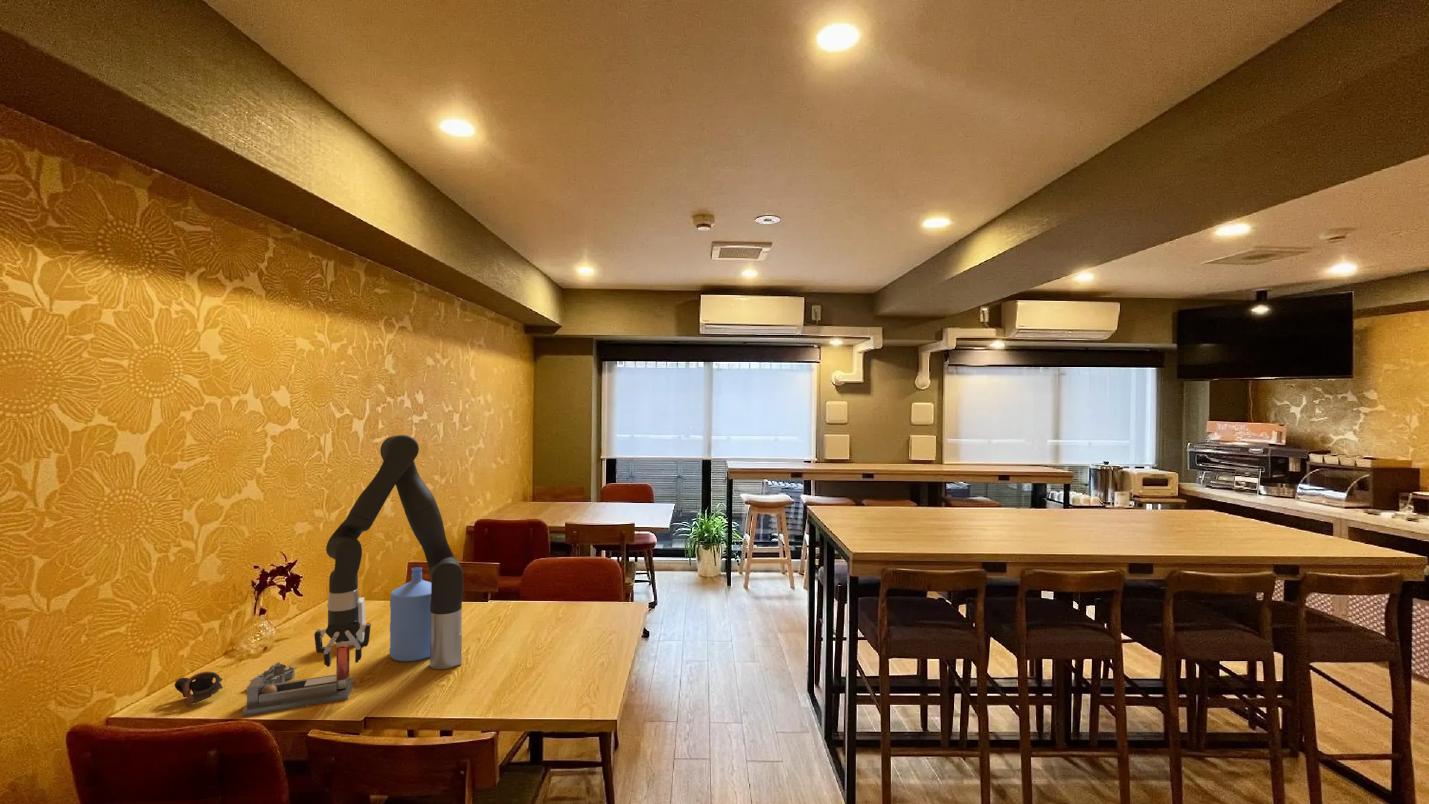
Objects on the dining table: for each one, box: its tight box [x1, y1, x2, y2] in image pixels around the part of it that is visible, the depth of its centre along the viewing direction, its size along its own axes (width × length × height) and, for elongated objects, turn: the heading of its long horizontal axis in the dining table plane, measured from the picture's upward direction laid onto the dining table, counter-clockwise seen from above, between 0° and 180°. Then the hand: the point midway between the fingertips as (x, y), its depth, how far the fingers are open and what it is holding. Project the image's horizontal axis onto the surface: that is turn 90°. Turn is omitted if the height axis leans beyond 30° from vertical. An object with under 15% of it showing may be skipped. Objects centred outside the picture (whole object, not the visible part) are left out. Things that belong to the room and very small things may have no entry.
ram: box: [304, 644, 351, 689], centre depth 172 cm, size 11×4×11 cm, turn 114°
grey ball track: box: [242, 674, 355, 717], centre depth 169 cm, size 24×11×6 cm, turn 114°
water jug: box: [389, 566, 431, 663], centre depth 201 cm, size 16×16×28 cm
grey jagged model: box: [249, 661, 297, 687], centre depth 179 cm, size 11×8×4 cm
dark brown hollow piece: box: [174, 671, 223, 708], centre depth 168 cm, size 12×10×8 cm
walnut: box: [261, 685, 277, 694], centre depth 166 cm, size 4×4×4 cm
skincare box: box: [335, 597, 367, 648], centre depth 208 cm, size 8×6×15 cm
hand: (342, 663), depth 173 cm, fingers open, 6 cm apart
